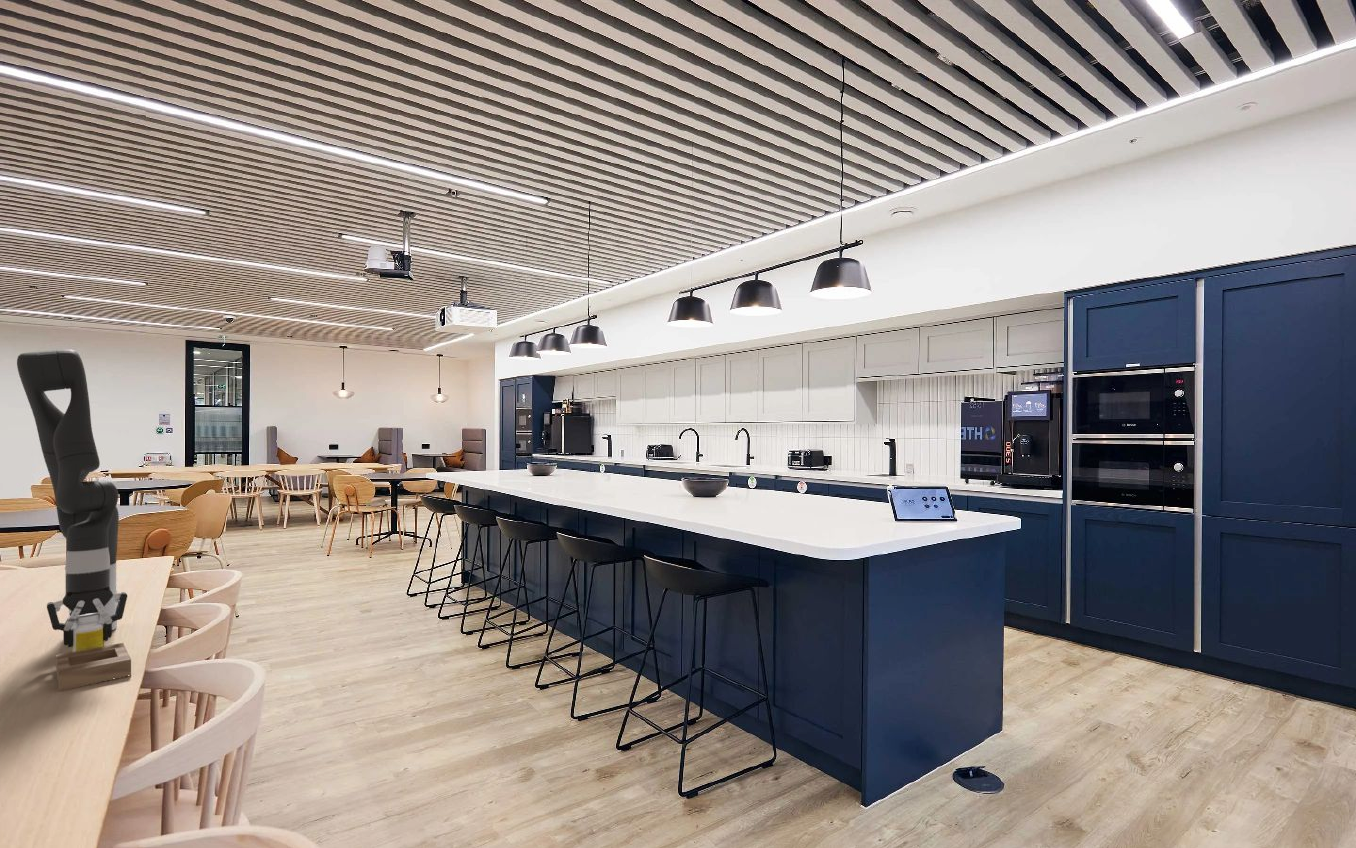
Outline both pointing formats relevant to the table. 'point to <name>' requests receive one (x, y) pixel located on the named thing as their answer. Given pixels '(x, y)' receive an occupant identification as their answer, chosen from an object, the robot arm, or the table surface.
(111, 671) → the well block
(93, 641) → the supplement bottle
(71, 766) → the table surface
